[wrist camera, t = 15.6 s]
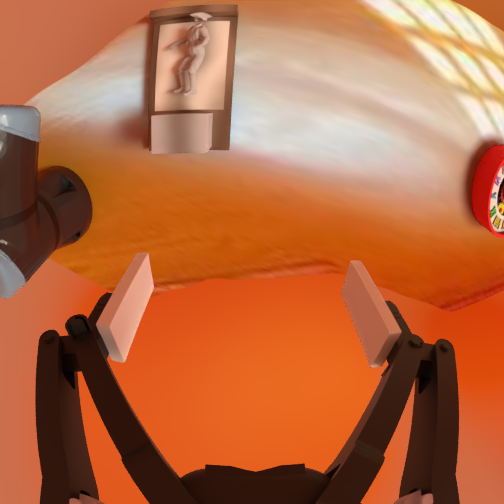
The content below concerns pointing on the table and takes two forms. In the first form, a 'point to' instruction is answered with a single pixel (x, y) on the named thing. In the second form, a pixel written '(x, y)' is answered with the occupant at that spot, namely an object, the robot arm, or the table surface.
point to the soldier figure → (192, 52)
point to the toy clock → (490, 191)
